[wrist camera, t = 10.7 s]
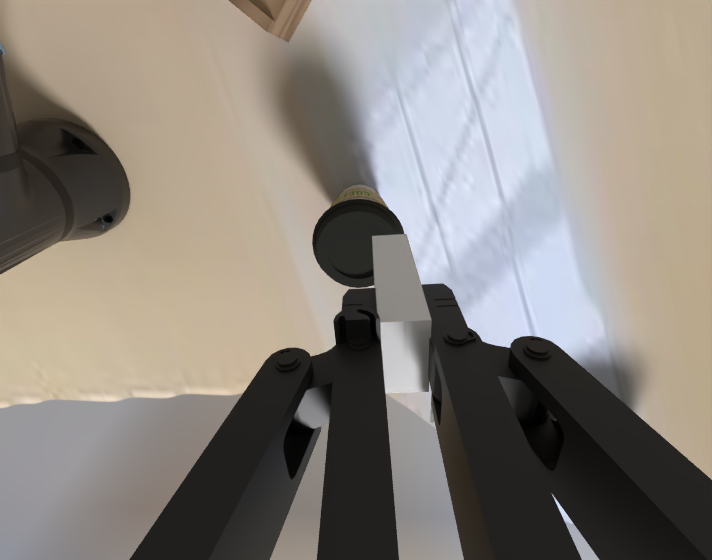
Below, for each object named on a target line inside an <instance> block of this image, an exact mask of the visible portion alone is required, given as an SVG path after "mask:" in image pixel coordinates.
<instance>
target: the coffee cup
mask: <svg viewBox="0 0 712 560" xmlns="http://www.w3.org/2000/svg"><path fill="white" fill-rule="evenodd" d="M399 234H404V231H403V227H402V225H401V223H400V221H399V219H398V218H397V217H396V216H395V214H394V213H393V212H392V211H391V210H389V208H388V207H387V205H386V204H385V202H384V201H383V199H382V198H381V197H380V196H379V195H378V194H377V192H376V191H375V190H374V189H372V188H371V187H369V186H366V185H361V184H357V185H352V186H350V187H348V188H346V189H345V190H344V191H343V192H342V193H341V194H340V195H339V196H338V197H337V199H336V200H335V201H334V203H333V204H332V205H331V207H330V208H329V209H328V210H327V211H326V212H325V213H324V214H323V215H322V216H321V217H320V219H319V220H318V222H317V224H316V226H315V229H314V233H313V242H312V244H313V251H314V255H315V258H316V260H317V262H318V264H319V265H320V267H321V269H322V270H323V271H324V272H325V273H326V274H327V275H328V276H329V277H330V278H332V279H333V280H335V281H336V282H338V283H340V284H342V285H345V286H349V287H356V288H361V287H368V286H372V285H374V267H373V245H372V236H381V235H399Z"/></svg>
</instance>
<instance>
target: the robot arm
mask: <svg viewBox="0 0 712 560" xmlns="http://www.w3.org/2000/svg"><path fill="white" fill-rule="evenodd" d="M4 54H5V50H4V48H3V46H2V44H1V43H0V274H2V273H4V272H6V271H7V270H9V269H11V268H13V267H15V266H16V265H18V264H20V263H22V262H23V261H25V260H27V259H29V258H31V257H32V256H34V255H36V254H38V253H40V252H41V251H43V250H45V249H47V248H48V247H50V246H52V245H54V244H56V243H57V242H60V241H69V240H79V239H88V238H93V237H96V236H99V235H102V234H104V233H106V232H107V231H109V230H111V229H112V228H114V227H116V226H117V225H118V224H119V223H120V222H121V221H122V220H123V219H124V217H125V216H126V214H127V211H128V209H129V204H130V188H129V183H128V179H127V176H126V174H125V171H124V169H123V167H122V165H121V164H120V162H119V160H118V159H117V157H116V156H115V155H114V153H113V152H112V151H111V150H110V149H109V148H108V147H107V146H106V145H105V144H104V143H103V142H102V141H101V140H100V139H99V138H98V137H96V136H95V135H94V134H92V133H91V132H89V131H88V130H86V129H84V128H82V127H80V126H78V125H76V124H73V123H70V122H67V121H64V120H58V119H40V120H32V121H26V122H23V123H20V124H17V125H16V123H15V118H14V113H13V108H12V103H11V98H10V93H9V88H8V83H7V78H6V73H5V68H4V63H3V58H2V55H4ZM372 245H373V267H374V288H364V289H349V290H348V291H347V292H346V294H345V295H344V296H343V302H342V311H341V312H340V313H338V314H337V315H336V316H335V319H334V330H335V339H336V345H335V346H334V347H333V348H332V349H330V350H329V351H327V352H325V353H322V354H319V355H315V356H311V357H310V354H309V353H308V352H306V351H305V350H303V349H300V348H286V349H282V350H279V351H277V352H275V353H273V354H272V355H271V356H270V357H269V358H268V359H267V360H266V361H265V362H264V364H263V365H262V367H261V368H260V370H259V371H258V373H257V374H256V376H255V377H254V379H253V380H252V381H251V383H250V384H249V386H248V387H247V389H246V390H245V392H244V393H243V395H242V396H241V398H240V399H239V400H238V402H237V403H236V405H235V406H234V408H233V409H232V411H231V412H230V414H229V415H228V417H227V418H226V419H225V421H224V422H223V424H222V425H221V427H220V428H219V430H218V431H217V433H216V434H215V435H214V437H213V438H212V440H211V441H210V443H209V445H208V446H207V447H206V449H205V450H204V452H203V453H202V455H201V456H200V457H199V459H198V460H197V462H196V463H195V465H194V466H193V468H192V469H191V471H190V472H189V473H188V475H187V476H186V478H185V479H184V481H183V482H182V484H181V485H180V487H179V488H178V490H177V491H176V492H175V494H174V495H173V497H172V498H171V500H170V501H169V503H168V504H167V506H166V507H165V508H164V510H163V512H162V513H161V514H160V516H159V517H158V519H157V520H156V522H155V523H154V525H153V526H152V527H151V529H150V531H149V532H148V533H147V535H146V536H145V538H144V539H143V541H142V542H141V544H140V545H139V546H138V548H137V549H136V551H135V552H134V554H133V555H132V557H131V558H130V560H270V557H271V554H272V552H273V550H274V547H275V545H276V542H277V540H278V537H279V535H280V532H281V530H282V527H283V525H284V522H285V520H286V517H287V515H288V512H289V510H290V507H291V504H292V502H293V499H294V497H295V495H296V492H297V489H298V487H299V484H300V482H301V479H302V477H303V474H304V472H305V469H306V467H307V464H308V462H309V459H310V457H311V454H312V452H313V449H314V447H315V444H316V441H317V439H318V436H319V434H320V432H321V426H324V425H327V424H329V430H328V441H327V452H326V463H325V475H324V487H323V498H322V508H321V519H320V531H319V543H318V553H317V560H399V555H398V542H397V530H396V519H395V506H394V494H393V481H392V469H391V457H390V445H389V433H388V420H387V408H386V397H385V396H386V395H385V393H403V392H429V382H430V386H431V391H432V397H431V419H430V422H434V420H435V425H436V430H437V435H438V439H439V444H440V449H441V453H442V458H443V463H444V467H445V472H446V477H447V482H448V486H449V491H450V496H451V500H452V505H453V510H454V515H455V519H456V524H457V529H458V533H459V538H460V543H461V548H462V552H463V557H464V560H582V559H581V557H580V555H579V553H578V550H577V548H576V546H575V544H574V542H573V540H572V537H571V535H570V533H569V531H568V528H567V526H566V524H565V522H564V520H563V517H562V515H561V513H560V511H559V509H558V507H557V504H556V502H555V500H554V498H553V496H552V494H553V495H554V497H555V498H556V500H557V501H558V502H559V504H560V505H561V506H562V508H563V509H564V511H565V512H566V513H567V515H568V516H569V518H570V519H571V520H572V522H573V523H574V525H575V526H576V527H577V529H578V530H579V532H580V533H581V534H582V536H583V537H584V538H585V540H586V541H587V542H588V544H589V546H590V547H591V548H592V550H593V551H594V552H595V554H596V555H597V557H598V558H599V559H600V560H712V480H711V479H710V478H709V477H708V476H707V475H705V474H704V473H703V472H702V471H701V470H700V469H699V468H697V467H696V466H695V465H694V464H693V463H692V462H691V461H689V460H688V459H687V458H686V457H685V456H684V455H682V454H681V453H680V452H679V451H678V450H677V449H676V448H674V447H673V446H672V445H671V444H670V443H669V442H668V441H666V440H665V439H664V438H663V437H662V436H661V435H660V434H658V433H657V432H656V431H655V430H654V429H653V428H651V427H650V426H649V425H648V424H647V423H646V422H645V421H643V420H642V419H641V418H640V417H639V416H638V415H637V414H635V413H634V412H633V411H632V410H631V409H630V408H629V407H627V406H626V405H625V404H624V403H623V402H622V401H621V400H619V399H618V398H617V397H616V396H615V395H614V394H612V393H611V392H610V391H609V390H608V389H607V388H606V387H604V386H603V385H602V384H601V383H600V382H599V381H598V380H596V379H595V378H594V377H593V376H592V375H591V374H590V373H588V372H587V371H586V370H585V369H584V368H583V367H582V366H580V365H579V364H578V363H577V362H576V361H575V360H573V359H572V358H571V357H570V356H569V355H568V354H567V353H565V352H564V351H563V350H562V349H561V348H560V347H559V346H557V345H556V344H554V343H553V342H551V341H549V340H546V339H543V338H540V337H534V336H524V337H520V338H517V339H515V340H514V341H513V342H512V343H511V347H510V348H507V347H501V346H495V345H491V344H487V343H485V342H482V340H481V338H480V337H479V335H478V334H477V333H476V332H475V331H473V330H472V329H470V328H468V327H467V324H466V322H465V320H464V317H463V315H462V313H461V310H460V308H459V306H458V303H457V301H456V300H455V296H454V294H453V292H452V290H451V289H450V288H448V287H447V286H446V285H444V284H425V285H421V282H420V279H419V275H418V272H417V269H416V265H415V262H414V258H413V255H412V252H411V248H410V245H409V241H408V238H407V235H406V234H399V235H381V236H372Z"/></svg>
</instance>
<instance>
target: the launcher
mask: <svg viewBox="0 0 712 560" xmlns="http://www.w3.org/2000/svg"><path fill="white" fill-rule="evenodd" d="M229 1H230V2H231V3H232V4H234V5H235V6H236V7H237V8H239V9H240V10H241V11H242V12H243V13H245V14H246V15H247V16H248V17H250V18H251V19H252V20H253V21H255V22H256V23H257V24H258V25H259V26H261V27H262V28H263V29H264V30H266V31H267V32H269V33H271V34H273V35H275V36H277V37H279V38H281V39H283V40H285V41H287V42H289V41H290V39H291V37H292V35H293V33H294V31H295V30H296V28H297V26H298V24H299V22H300V20H301V19H302V17H303V15H304V13H305V11H306V9H307V8H308V6H309V4H310V2H311V0H229Z"/></svg>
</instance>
